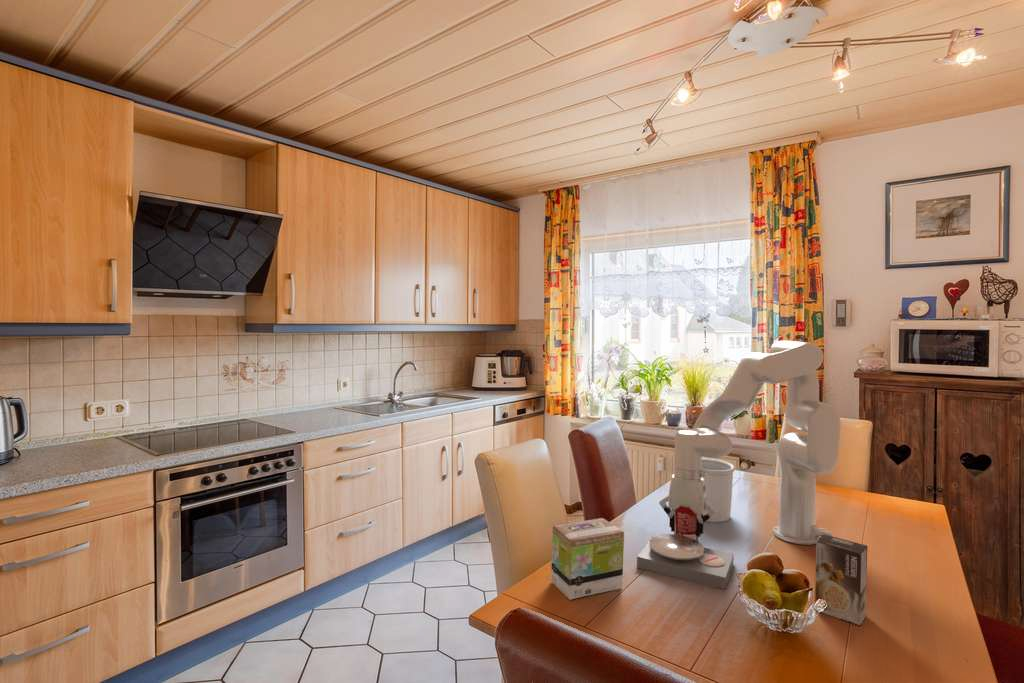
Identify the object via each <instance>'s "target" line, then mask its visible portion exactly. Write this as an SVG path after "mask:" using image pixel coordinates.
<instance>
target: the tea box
mask: <svg viewBox="0 0 1024 683" xmlns="http://www.w3.org/2000/svg"><path fill="white" fill-rule="evenodd" d="M551 539H552V540H551V541H552V544H551V569H550V570H551V571H550V575H551V576H550V582H551V583H552V584H553V585H554V586H555V587H556V588H557V589H558V590H559V591H560V592H561V593H562V594H563V595H564V596H565V597H566V598H568V600H569V601H571V600H575V599H578V598H583V597H589V596H593V595H596V594H602V593H606V592H612V591H617V590H622V588H623V577H624V576H623V575H624V547H625V546H624V545H625V531H623V530H622V529H620V528H619V527H617V526H616V525H614V524H613V523H611V522H610V521H608V520H607V519H605V518H603V517H599V518H593V519H589V520H588V519H586V520H580V521H575V522H568V523H561V524H555V525H552V538H551Z"/></svg>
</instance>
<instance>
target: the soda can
mask: <svg viewBox="0 0 1024 683" xmlns="http://www.w3.org/2000/svg"><path fill="white" fill-rule="evenodd" d="M690 508H691V507H690V506H683V505H680V507H678V508H677V509H676V510H675V513H674V531H673V534H675V535H682V536H686V537H689V538H692V539H694V540H696V541H698V542H699V537H697V523H698V519H697V516H696V515H697V514H695V513H694V512H693V511H692V510H691V509H690Z"/></svg>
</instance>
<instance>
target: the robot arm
mask: <svg viewBox="0 0 1024 683" xmlns="http://www.w3.org/2000/svg"><path fill="white" fill-rule="evenodd" d="M823 361H824V353H823V351H822V349H821V347H819V345H817V344H815V343H812V342H808V341H796V340H779V341H775V342H774V343H772V345H771V346H770V347H769V353H767V352H766V353H765V352H756V351H755V352H748V353H747V354H745V355H744V356H743V357H742V358H741V360H740V361H739V363H738V365H737V367H736V369H735V370H734V372H733V374H732V376H731V378H730V379H729V381H728V382H727V384H726V387H725V388H724V390H723V392H722V393H721V394H720V395H719V396H718V397H717V398H715V399H714V400H713V401H712V402H710V403H709V404H708V405H707V406H706V407H704V409H703V410H702V411H701V413H700V414H699V416H698V417H697V419H696V421H695V423H694V425H693V427H692V428H691V430H690V429H680V430H678V431H676V432H675V433H674V434H675V436H674V457H673V459H674V460H673V462H674V463H673V464H674V465H673V466H674V467H673V469H674V470H673V474H672V475H671V477H670V483H669V488H668V489H669V491H668V495H667V496H665V497H664V498H662V499H661V500H659V502H658V503H659V506H660V507H662V509H663V511H664V512H665V514H667V516H668V518H669V528H670V532H673V533H674V513H675V510H676V509H677V508H678V507H680V505H683V506H690V507H691V508H690V509H691V510H692V511H693V512H694V513H695V514H697V515H696V516H697V519H698V523H697V537H698V538H700V537H701V535H702V534H704V523H705V522H708V521H707V520H708V519H709V518H710V517H711V516H713V515H714V514H715V512H716V511H715V510H714V509H713V508H712V507H711V506H710V505H709V504H708V503H707V502H706V491H705V482H704V479H703V478H701V477H702V476H706V472H704V471H702V468H701V458H711V459H721V458H725V457H726V456H728V455H730V454H731V451H732V449H733V443H732V440H731V438H729V436H728V435H726V434H725V433H723V432H720V431H718V430H719V428H720V426H721V425H722V423H724V422H725V420H726V419H728V418H730V417H731V416H732V417H733V415H736V414H740V413H742V412H745V411H747V410H749V409H751V407H752V405H753V404H754V402H755V399H756V397H757V396H758V394H759V392H760V391H761V389H762V388H763V386H764V384H770V385H774V384H775V385H776V384H781V383H784V382H786V401H785V411H784V412H785V420H786V422H787V424H788V425H789V426H791V427H792V428H795V429H796V430H800V431H802V432H806V433H807V434H803V433H800V432H788V433H785V434H784V435H782V436H781V438H780V439H779V440H778V443H777V455H778V460H779V470H780V471H779V472H780V474H779V475H780V476H779V477H780V480H779V503H778V504H779V505H778V506H779V507H778V525H775V526H774V527H773V528H772V534H773V535H774V536H775V537H776V538H778V539H780V540H782V541H785V542H788V543H791V544H794V545H795V544H797V545H804V546H805V545H806V546H807V545H808V546H811V545H816V542H817V541H818V540H819V538H820V537H821V536H822V535H824V534H825V535H829V536H833V532H832V531H829V530H828V529H827V528H824V527H823V528H822V527H819V526H816V521H815V516H816V515H815V514H816V490H817V488H816V487H817V485H816V484H817V483H816V482H817V481H816V474H817V475H825V474H829V473H830V472H832V471H833V470H834V468H835V467H836V465H837V463H838V459H839V451H840V450H839V449H840V440H841V439H840V438H841V417H840V415H839V412H838V411H837V409H836V408H835V407H834V406H832V405H831V404H829V403H825V402H822V401H820V381H819V376H818V373H817V370H818V369H819V368H821V367H820V366H821V365H822V364H823ZM705 509H707V510H708V513H707V514H706V515H703V511H704V510H705Z"/></svg>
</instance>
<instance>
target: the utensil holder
mask: <svg viewBox="0 0 1024 683" xmlns="http://www.w3.org/2000/svg"><path fill="white" fill-rule="evenodd" d="M701 468H702V471H704V472H706V476H702V477H701V478H703V479H704V482H705V491H706V502H707V503H708V504H709V505H710V506H711V507H712V508H713V509H714V510H715V511H716V512H715V514H714V515H713V516H711V517H710V518H709V519H708V520H707V521H706V522H708V521H709V522H708V523H724V522H727V521H729V520H730V519H731V512H732V511H731V510H732V497H733V496H732V495H733V481H734V480H733V479H734V478H733V477H734V471H735V466H734V465H733V464H732V463H730V462H729V461H726V460H721V459H718V458H711V457H701ZM707 513H708V510H707V509H705V510H704V511H703V515H706V514H707ZM728 519H729V520H728ZM723 521H724V522H723Z"/></svg>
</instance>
